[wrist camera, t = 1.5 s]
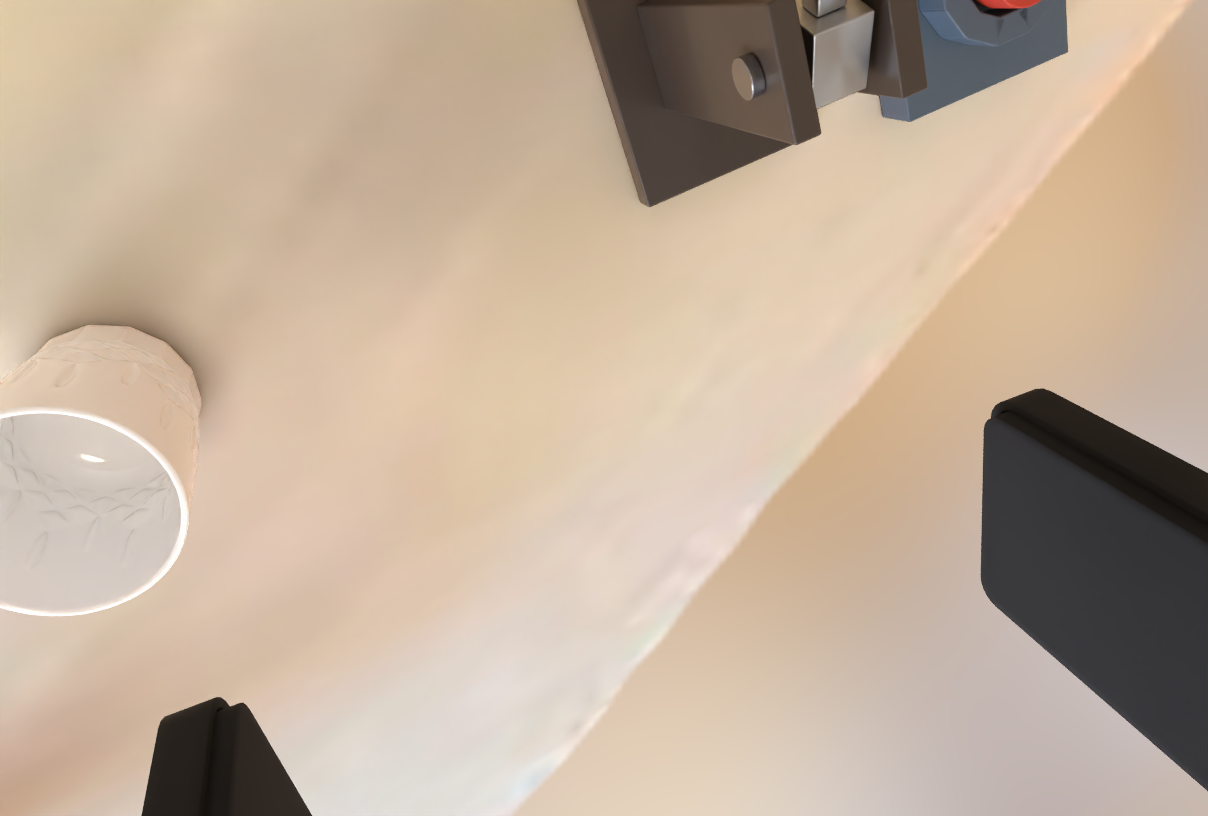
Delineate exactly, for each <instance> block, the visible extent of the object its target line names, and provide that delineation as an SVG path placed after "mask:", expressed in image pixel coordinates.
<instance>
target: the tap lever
mask: <svg viewBox="0 0 1208 816" xmlns="http://www.w3.org/2000/svg"><path fill="white" fill-rule="evenodd" d="M796 5H797V10H798V15H799V21H800V26H801V31H802V36H803V41H804V46H805V51H806V57H807V62H808V67H809V72H810V77H811V82H812V88H813V93H814V98H815V103H816V108H817V109H819V108H821V107H823V106H826V105H828V104H830V103H833V102H835V101H837V100H839V99H842V98H844V97H846V96H849V95H851V94H853V93H856V92H858V91H860V90H863V89H865V88H866V87H867V78H868V69H869V59H870V50H871V41H872V31H873V22H874V13H875V12H874V10H873V9H872V8H871V7H869V6H868V5H867V4H865V3H864V2H863V1H861V0H796Z"/></svg>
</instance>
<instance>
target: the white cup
mask: <svg viewBox="0 0 1208 816" xmlns="http://www.w3.org/2000/svg"><path fill="white" fill-rule="evenodd" d="M201 404H202V400H201V396H200V393H199V390H198V387H197V383H196V380H195V377H194V374H193V370H192V369H191V367H190V366H189V365H188V364H187V363H186V362H185V361H184V360H183V359H182V358H181V357H180V356H179V355H178V354H177V353H176V352H175V351H174V350H173V349H172V348H171V347H170V345H169V344H168V343H166V342H164V341H162V340H160V339H157V338H155V337H153V336H150V335H148V334H146V333H144V332H141V331H139V330H137V329H134V328H132V327H129V326H107V325H86V326H83V327H80V328H78V329H75V330H72V331H70V332H67V333H64V334H62V335H59V336H56V337H54V338H51V339H50V340H49V341H48V342H47V343H46V344H45V345H44V346H43V347H42V348H41V349H40V350H39V351H38V352H37V353H36V354H35V355H34V356H33V357H31V358H30V359H28V360H26V361H25V362H23V363H22V364H20V365H19V366H18V367H16V368H15V369H14V370H13V371H12V372H11V373H10V374H9V375H7V376H6V377H5V378H4V379H3V380H2V381H1V382H0V608H3V609H7V610H11V611H15V612H20V613H25V614H32V615H43V616H69V615H79V614H86V613H91V612H96V611H100V610H104V609H107V608H110V607H113V606H116V605H119V604H121V603H123V602H126V601H128V600H130V599H132V598H134V597H136V596H137V595H139V594H141V593H142V592H144V591H146V590H147V589H148V588H150V587H151V586H152V585H154V584H155V583H156V582H157V581H158V580H159V579H161V578H162V577H163V576H164V575H165V573H166V572H167V571H168V570H169V569H170V568H171V566H172V565H173V564H174V562H175V561H176V559H177V557H178V556H179V554H180V552H181V550H182V548H183V545H184V543H185V540H186V536H187V532H188V526H189V519H190V511H191V504H192V497H193V491H194V484H195V477H196V471H197V460H198V448H199V437H200V431H199V416H200V410H201Z"/></svg>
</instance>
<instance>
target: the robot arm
mask: <svg viewBox="0 0 1208 816" xmlns="http://www.w3.org/2000/svg"><path fill="white" fill-rule="evenodd" d="M983 452H984V453H983V495H982V542H981V582H982V585H983V589H984V591H985V593H986V595H987V596H988V598H989V599H990V601H991V602H992V603H993V604H994V605H995V606H996V607H997V608H998V609H1000V610H1001V611H1002V612H1003V613H1004V614H1005V615H1006V616H1008V617H1009V618H1010V619H1011V620H1012V621H1013V622H1015V624H1017V625H1018V626H1019V627H1020V628H1021V629H1023V630H1024V631H1025V632H1026V633H1027V634H1028V635H1029V636H1030V637H1032V638H1033V639H1034V640H1035V641H1036V642H1037V643H1038V644H1040V645H1041V646H1042V647H1043V648H1044V649H1045V650H1047V651H1048V652H1049V653H1050V654H1051V655H1053V657H1055V658H1056V659H1057V660H1058V661H1059V662H1060V663H1061V664H1063V665H1064V666H1065V667H1066V668H1067V669H1068V670H1069V671H1071V672H1072V673H1073V674H1074V675H1075V676H1076V677H1078V678H1079V679H1080V680H1081V681H1082V682H1083V683H1084V684H1086V685H1087V686H1088V687H1089V688H1090V689H1091V690H1092V691H1094V692H1095V693H1096V694H1097V695H1098V696H1099V697H1100V698H1102V699H1103V700H1104V701H1105V702H1106V703H1107V704H1109V705H1110V706H1111V707H1112V708H1113V709H1114V710H1115V711H1117V712H1118V713H1119V714H1120V715H1121V716H1122V717H1123V718H1125V719H1126V720H1127V721H1128V722H1129V723H1130V724H1131V725H1133V726H1134V727H1135V728H1136V729H1137V730H1138V731H1139V732H1141V733H1142V734H1143V735H1144V736H1145V737H1146V738H1148V739H1149V740H1150V741H1151V742H1152V743H1153V744H1154V745H1156V746H1157V747H1158V748H1159V749H1160V750H1161V751H1162V752H1164V753H1165V754H1166V755H1167V756H1168V757H1169V758H1170V759H1172V760H1173V761H1174V762H1175V763H1176V764H1178V765H1179V766H1180V767H1181V768H1182V769H1183V770H1184V771H1185V772H1187V773H1188V774H1189V775H1190V776H1191V777H1192V778H1193V779H1195V780H1196V781H1197V782H1198V783H1199V784H1200V785H1202V786H1203V787H1204V788H1205V789H1206V790H1207V791H1208V473H1206V472H1205V471H1202V470H1201V469H1199V468H1197V467H1195V466H1193V465H1191V464H1189V463H1187V462H1185V461H1183V460H1182V459H1180V458H1178V457H1176V456H1174V455H1172V454H1170V453H1168V452H1166V451H1164V450H1162V449H1161V448H1159V447H1157V446H1155V445H1153V444H1151V443H1149V442H1147V441H1145V440H1143V439H1141V438H1139V437H1138V436H1136V435H1133V434H1131V433H1130V432H1128V431H1126V430H1124V429H1122V428H1120V427H1118V426H1116V425H1114V424H1113V423H1110V422H1109V421H1107V420H1105V419H1103V418H1101V417H1099V416H1097V415H1095V414H1093V413H1092V412H1090V411H1088V410H1086V409H1084V408H1082V407H1080V406H1078V405H1076V404H1074V403H1072V402H1070V401H1068V400H1067V399H1065V398H1063V397H1061V396H1059V395H1057V394H1055V393H1053V392H1051V391H1049V390H1046V389H1034V390H1032V391H1029V392H1026V393H1024V394H1021V395H1019V396H1016V397H1013V398H1011V399H1008V400H1006V401H1003V402H1000V403H999V404H997V405H996V406H995V407H994V409H993V410H992V414H991V419H989V420H987V422H986V423H985V427H984V449H983ZM142 816H312V815H311V813H310V811H309V810H308V808H307V806H306V804H305V803H304V801H303V799H302V798H301V796H300V794H299V793H298V791H297V789H296V787H295V786H294V784H293V782H292V781H291V779H290V777H289V775H288V774H287V772H286V770H285V769H284V767H283V765H282V764H281V762H280V760H279V758H278V757H277V755H276V753H275V752H274V750H273V748H272V747H271V745H270V743H269V741H268V740H267V738H266V736H265V735H264V733H263V731H262V730H261V728H260V726H259V724H258V723H257V721H256V719H255V718H254V716H253V714H252V713H251V711H250V709H249V708H248V707H247V705H245V704H244V703H239V704H236V705H234V706H231V707H230V706H229V705H228V704H227V702H226V701H225V700H224V699H222V698H221V697H216V698H213V699H211V700H208V701H205V702H203V703H200V704H197V705H195V706H192V707H189V708H187V709H184V710H181V711H179V712H176V713H174V714H171V715H168V716H166V717H164V718H163V719H162V720H161V722H160V725H159V728H158V733H157V738H156V743H155V748H154V754H153V759H152V764H151V769H150V774H149V780H148V785H147V790H146V795H145V801H144V806H143V811H142Z"/></svg>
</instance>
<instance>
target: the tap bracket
mask: <svg viewBox="0 0 1208 816" xmlns="http://www.w3.org/2000/svg"><path fill="white" fill-rule="evenodd" d="M577 1H578V5H579V8H580V11H581V14H582V17H583V21H584V24H585V27H586V30H587V33H588V36H589V40H590V43H591V46H592V49H593V52H594V56H595V59H596V62H597V65H598V68H599V71H600V75H601V78H602V81H603V84H604V87H605V91H606V94H607V97H608V100H609V103H610V106H611V110H612V113H613V116H614V119H615V122H616V126H617V129H618V132H619V135H620V138H621V141H622V145H623V148H624V151H625V154H626V157H627V161H628V164H629V167H630V170H631V173H632V176H633V180H634V183H635V186H636V189H637V192H638V196H639V199H640V202H641V203H643V204H644V205H646V206H648V207H651V206H654V205H656V204H658V203H661V202H663V201H665V200H667V199H670V198H672V197H674V196H677V195H679V194H681V193H683V192H686V191H688V190H690V189H693V188H695V187H697V186H699V185H702V184H704V183H706V182H709V181H711V180H713V179H715V178H718V177H720V176H722V175H725V174H727V173H729V172H731V171H734V170H736V169H738V168H741V167H743V166H745V165H747V164H750V163H752V162H754V161H757V160H759V159H761V158H763V157H766V156H768V155H770V154H773V153H775V152H777V151H779V150H782V149H784V148H786V147H789V146H791V145H798V144H800V143H803V142H805V141H807V140H810V139H812V138H814V137H816V136H819V135H820V134H821V129H820V124H819V118H818V113H817V108H816V103H815V98H814V93H813V88H812V82H811V77H810V72H809V67H808V62H807V57H806V51H805V46H804V41H803V36H802V31H801V26H800V21H799V15H798V10H797V5H796V0H577ZM861 1H863V2H864V3H865V4H867V5H868V6H869V7H871V8H872V9H873V10H874V12H875V13H874V22H873V31H872V41H871V50H870V59H869V69H868V78H867V87H866V88H865V89H863V90H860V91H858V92H859V93H866V94H872V95H879V96H886V97H893V98H900V99H904V98H906V97H909V96H911V95H913V94H915V93H918V92H920V91H922V90H925V89H927V87H928V86H927V78H926V70H925V63H924V55H923V47H922V39H921V31H920V23H919V16H918V8H917V0H861Z"/></svg>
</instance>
